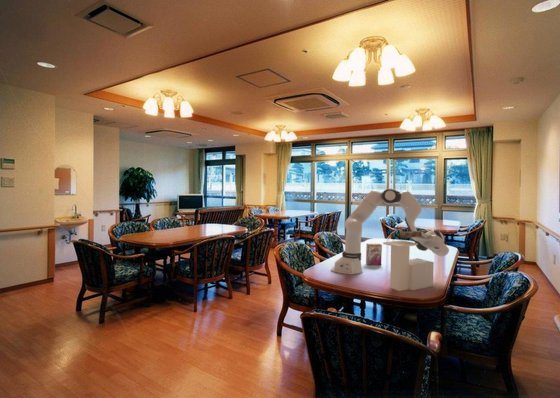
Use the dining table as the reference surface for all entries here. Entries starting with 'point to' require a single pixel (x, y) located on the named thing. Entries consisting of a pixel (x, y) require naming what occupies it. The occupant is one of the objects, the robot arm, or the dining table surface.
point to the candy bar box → (373, 254)
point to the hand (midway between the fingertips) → (418, 232)
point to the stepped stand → (408, 268)
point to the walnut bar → (410, 234)
